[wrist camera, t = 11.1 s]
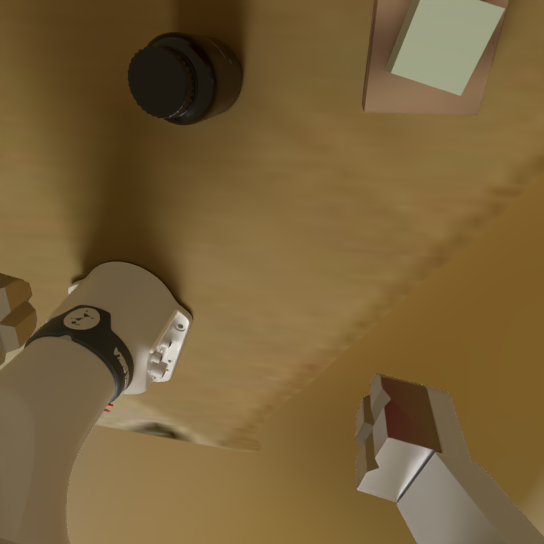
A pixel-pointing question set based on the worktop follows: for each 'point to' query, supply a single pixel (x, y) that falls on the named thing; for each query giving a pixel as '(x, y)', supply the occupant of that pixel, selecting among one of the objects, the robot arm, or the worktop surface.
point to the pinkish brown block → (408, 93)
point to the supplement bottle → (185, 78)
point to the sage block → (443, 41)
